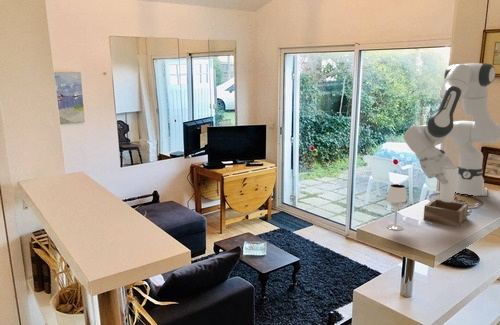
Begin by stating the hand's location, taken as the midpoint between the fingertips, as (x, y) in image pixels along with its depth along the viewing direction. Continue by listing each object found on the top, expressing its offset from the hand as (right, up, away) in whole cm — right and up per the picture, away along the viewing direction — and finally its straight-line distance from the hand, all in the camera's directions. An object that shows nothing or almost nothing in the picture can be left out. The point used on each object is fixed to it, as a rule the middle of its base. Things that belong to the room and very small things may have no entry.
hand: (450, 182), depth 169 cm
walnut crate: (0, -17, +4) cm, 17 cm away
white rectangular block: (0, -9, +2) cm, 9 cm away
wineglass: (-26, -19, -5) cm, 32 cm away
